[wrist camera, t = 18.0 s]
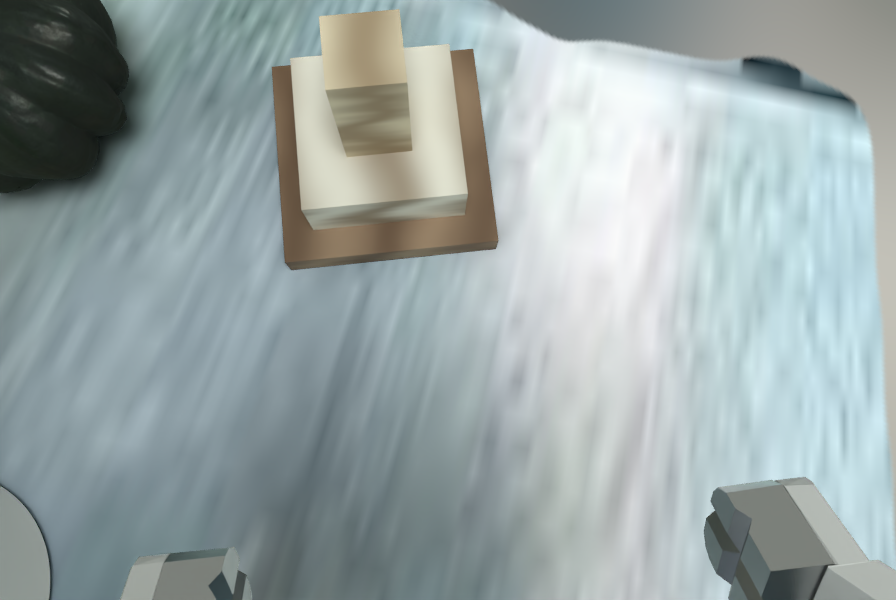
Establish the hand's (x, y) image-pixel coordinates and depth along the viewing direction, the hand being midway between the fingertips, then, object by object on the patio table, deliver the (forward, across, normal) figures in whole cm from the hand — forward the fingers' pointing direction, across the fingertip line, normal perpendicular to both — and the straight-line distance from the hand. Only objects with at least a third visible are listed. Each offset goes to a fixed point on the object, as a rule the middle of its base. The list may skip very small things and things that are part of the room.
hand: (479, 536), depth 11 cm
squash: (+41, +25, +4) cm, 48 cm away
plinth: (+37, +2, +8) cm, 37 cm away
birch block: (+32, +2, +4) cm, 33 cm away
